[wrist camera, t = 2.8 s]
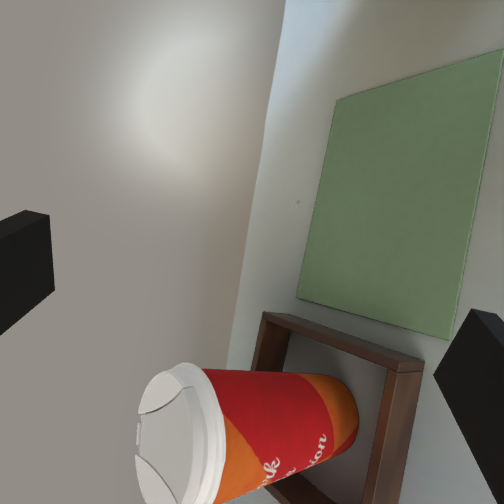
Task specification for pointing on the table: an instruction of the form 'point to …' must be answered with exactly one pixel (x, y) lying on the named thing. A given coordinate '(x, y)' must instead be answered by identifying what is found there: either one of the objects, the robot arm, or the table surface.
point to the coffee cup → (236, 431)
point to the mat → (402, 197)
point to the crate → (390, 417)
